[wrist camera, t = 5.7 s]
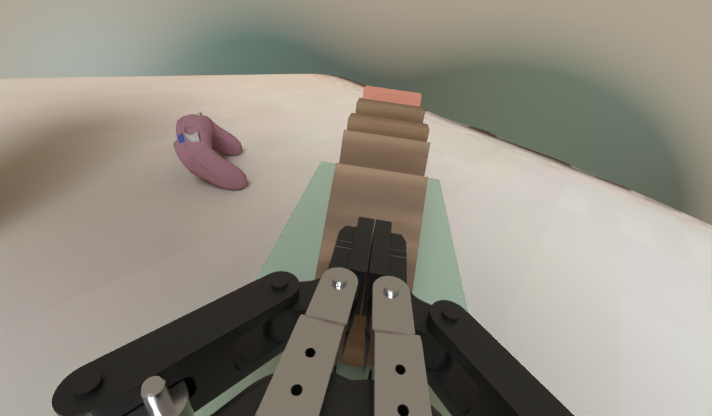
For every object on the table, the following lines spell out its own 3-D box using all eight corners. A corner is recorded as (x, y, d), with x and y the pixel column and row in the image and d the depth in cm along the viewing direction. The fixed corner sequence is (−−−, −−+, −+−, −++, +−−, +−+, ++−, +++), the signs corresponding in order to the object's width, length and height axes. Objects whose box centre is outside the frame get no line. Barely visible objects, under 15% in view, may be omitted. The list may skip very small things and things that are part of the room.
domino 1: (400, 197, 33) (421, 97, 28) (351, 190, 33) (363, 89, 28) (400, 190, 34) (420, 93, 29) (353, 183, 34) (365, 85, 29)
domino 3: (399, 261, 24) (429, 130, 20) (334, 250, 25) (348, 118, 20) (399, 249, 26) (427, 124, 21) (337, 238, 26) (351, 113, 21)
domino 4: (400, 305, 20) (430, 142, 18) (321, 291, 20) (343, 129, 19) (398, 294, 22) (426, 144, 20) (325, 282, 22) (346, 132, 20)
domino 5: (401, 374, 16) (428, 177, 17) (300, 355, 16) (335, 163, 17) (397, 363, 17) (422, 183, 19) (306, 347, 18) (338, 170, 19)
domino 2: (399, 225, 29) (424, 112, 23) (344, 216, 29) (356, 102, 24) (400, 215, 30) (423, 107, 25) (347, 207, 30) (359, 98, 25)
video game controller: (210, 165, 38) (170, 112, 34) (245, 148, 39) (209, 93, 34) (208, 209, 31) (156, 148, 26) (252, 187, 31) (207, 124, 27)
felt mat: (512, 532, 12) (515, 529, 12) (159, 459, 13) (158, 456, 13) (438, 181, 38) (439, 179, 38) (321, 163, 38) (321, 161, 38)
